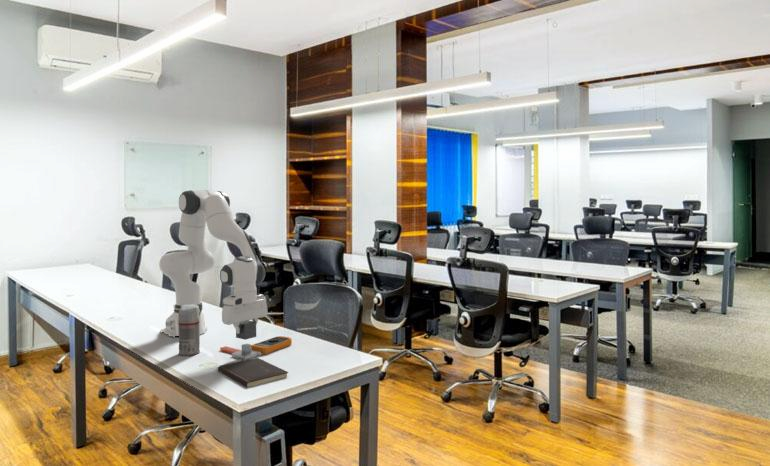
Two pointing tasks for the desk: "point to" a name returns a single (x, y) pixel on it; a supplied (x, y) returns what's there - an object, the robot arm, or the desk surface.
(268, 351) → the multimeter
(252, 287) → the robot arm
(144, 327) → the desk surface
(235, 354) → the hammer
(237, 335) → the brushed metal cube
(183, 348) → the spray can
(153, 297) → the desk surface
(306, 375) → the desk surface
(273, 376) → the hardcover book
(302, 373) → the desk surface
